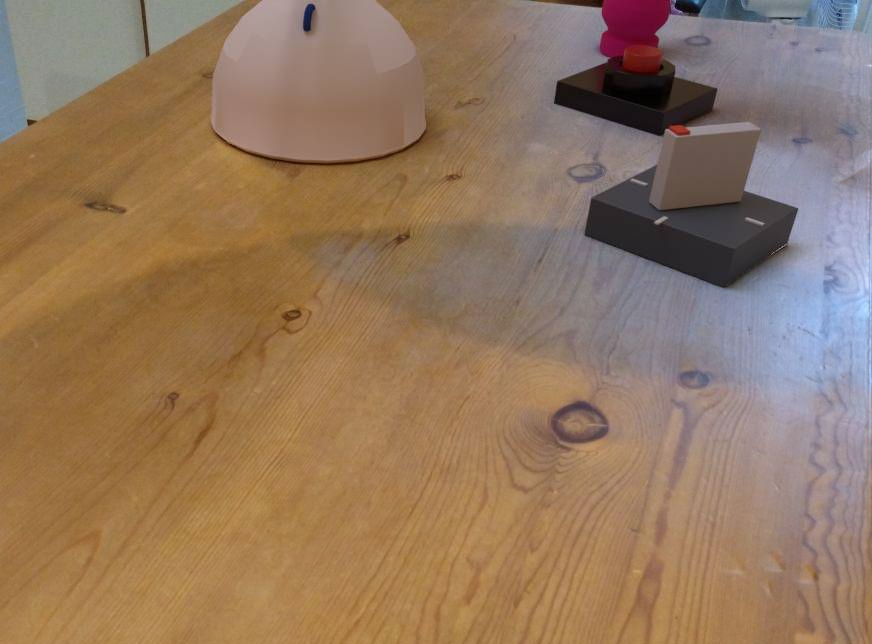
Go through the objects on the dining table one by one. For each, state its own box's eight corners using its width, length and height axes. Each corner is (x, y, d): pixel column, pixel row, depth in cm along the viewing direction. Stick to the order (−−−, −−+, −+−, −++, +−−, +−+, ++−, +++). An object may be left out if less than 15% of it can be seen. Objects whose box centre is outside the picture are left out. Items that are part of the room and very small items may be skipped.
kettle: (437, 95, 106) (454, -114, 94) (412, 174, 91) (430, -64, 79) (240, 79, 109) (233, -127, 97) (183, 154, 93) (167, -81, 81)
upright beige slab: (729, 193, 82) (750, 117, 78) (740, 202, 80) (762, 125, 77) (648, 202, 80) (665, 125, 76) (658, 210, 79) (676, 133, 75)
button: (666, 70, 102) (670, 51, 101) (646, 78, 100) (650, 58, 99) (634, 61, 104) (637, 42, 103) (614, 69, 102) (617, 50, 101)
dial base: (790, 242, 82) (803, 203, 80) (719, 290, 76) (731, 249, 74) (655, 196, 88) (663, 159, 86) (579, 236, 82) (586, 197, 80)
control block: (712, 111, 104) (723, 68, 102) (659, 136, 99) (669, 92, 96) (608, 81, 111) (616, 40, 108) (553, 103, 105) (559, 61, 102)
